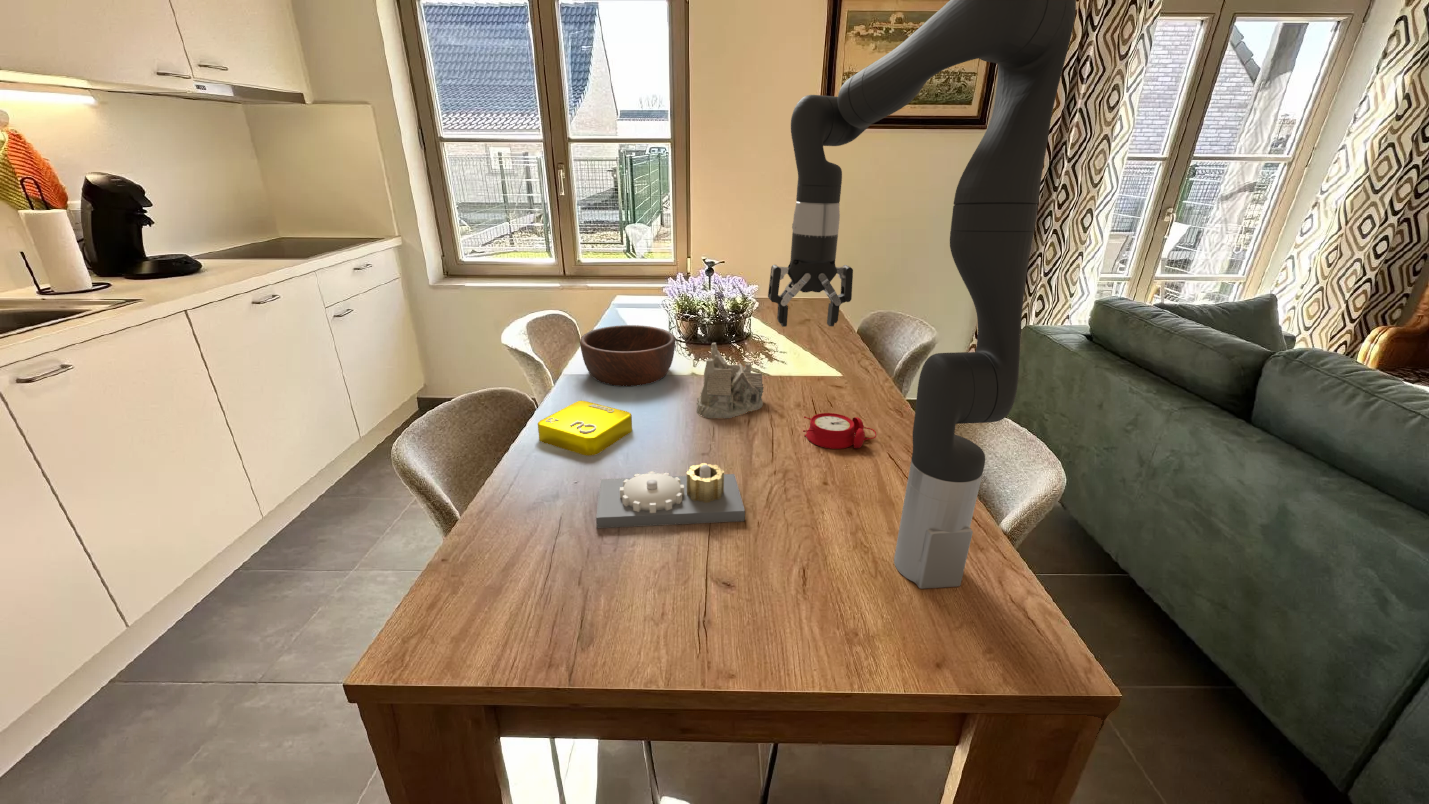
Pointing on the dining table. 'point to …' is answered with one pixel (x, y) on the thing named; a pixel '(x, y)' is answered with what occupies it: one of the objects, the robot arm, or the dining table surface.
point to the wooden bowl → (628, 354)
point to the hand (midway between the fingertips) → (807, 325)
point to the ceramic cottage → (728, 388)
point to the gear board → (664, 501)
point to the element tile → (585, 427)
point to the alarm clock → (836, 431)
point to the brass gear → (705, 483)
